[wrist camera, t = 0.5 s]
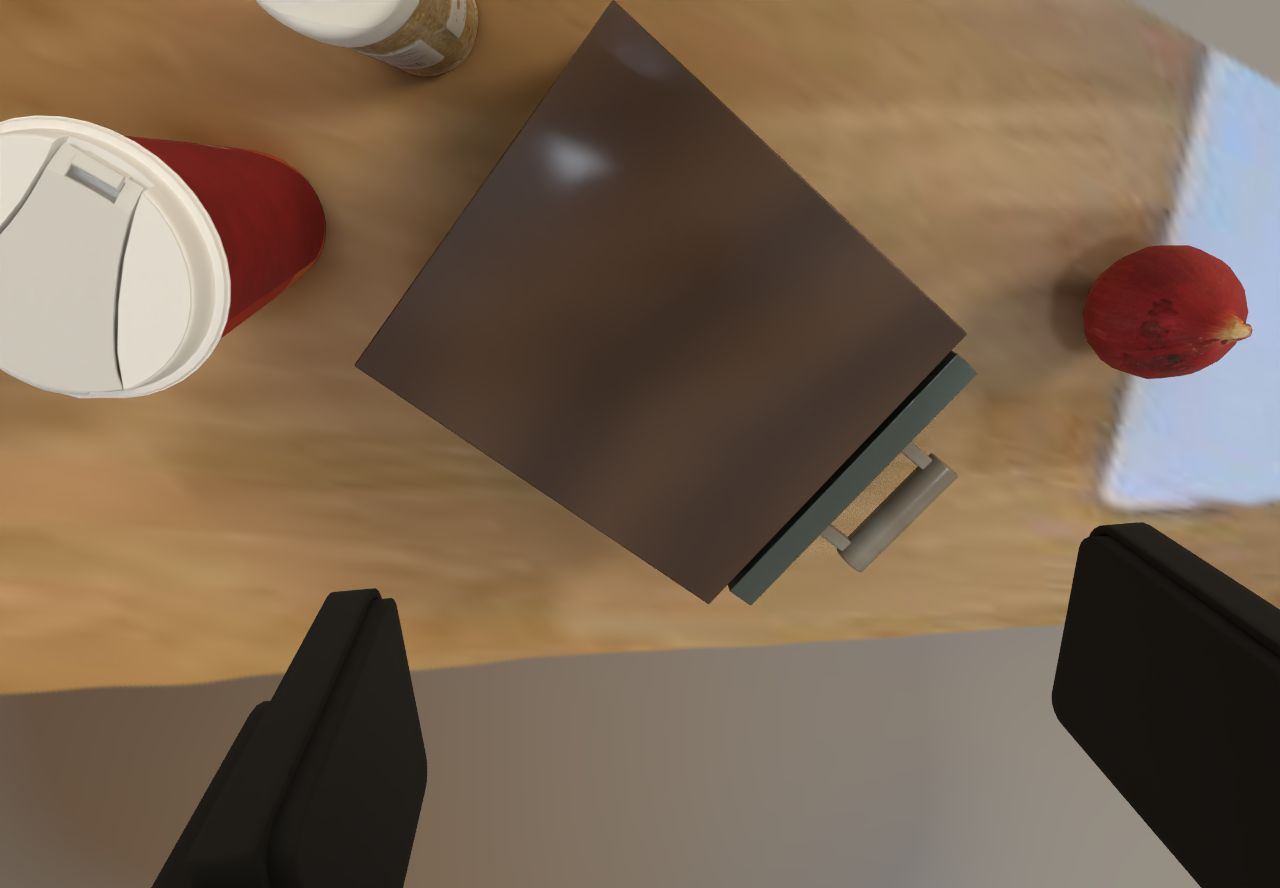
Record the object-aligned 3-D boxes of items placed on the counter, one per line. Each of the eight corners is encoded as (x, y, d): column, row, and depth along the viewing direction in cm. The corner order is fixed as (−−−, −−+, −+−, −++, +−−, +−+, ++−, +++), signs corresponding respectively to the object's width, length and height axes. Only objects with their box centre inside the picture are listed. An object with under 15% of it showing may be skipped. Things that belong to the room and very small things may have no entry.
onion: (1089, 376, 39) (1211, 433, 31) (1025, 301, 37) (1138, 342, 29) (1186, 292, 37) (1336, 330, 30) (1124, 209, 36) (1268, 228, 28)
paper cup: (207, 83, 31) (-60, 44, 18) (382, 193, 33) (257, 230, 20) (135, 248, 33) (-151, 322, 20) (304, 342, 35) (145, 464, 22)
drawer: (955, 381, 37) (1056, 445, 29) (782, 560, 40) (831, 661, 32) (653, 106, 31) (680, 96, 24) (478, 340, 34) (449, 399, 27)
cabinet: (863, 281, 36) (968, 333, 26) (676, 491, 39) (709, 604, 30) (601, 41, 31) (613, -1, 22) (414, 302, 35) (353, 366, 25)
